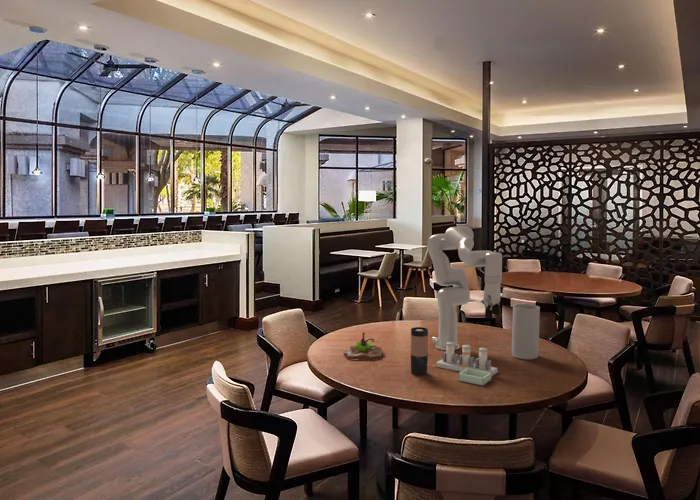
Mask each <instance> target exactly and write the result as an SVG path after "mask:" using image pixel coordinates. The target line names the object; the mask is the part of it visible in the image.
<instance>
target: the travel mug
mask: <svg viewBox="0 0 700 500" xmlns="http://www.w3.org/2000/svg"><path fill="white" fill-rule="evenodd" d="M428 360H429V330H428V328H426V327H422V326H421V327H420V326H419V327H418V326H417V327H412V328H410V373H411V374H412V375H413V374H414V376H426V375H427V374H428Z"/></svg>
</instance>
